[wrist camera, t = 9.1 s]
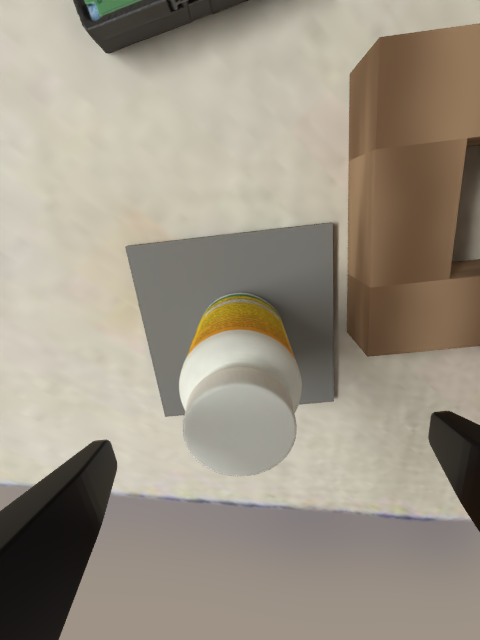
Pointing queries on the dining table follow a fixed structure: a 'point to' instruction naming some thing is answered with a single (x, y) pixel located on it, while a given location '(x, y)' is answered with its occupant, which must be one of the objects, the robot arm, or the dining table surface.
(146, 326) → the rubber mat
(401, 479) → the dining table surface
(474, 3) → the dining table surface
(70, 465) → the robot arm
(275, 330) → the supplement bottle
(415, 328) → the socket block
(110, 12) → the disk drive
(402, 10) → the dining table surface
